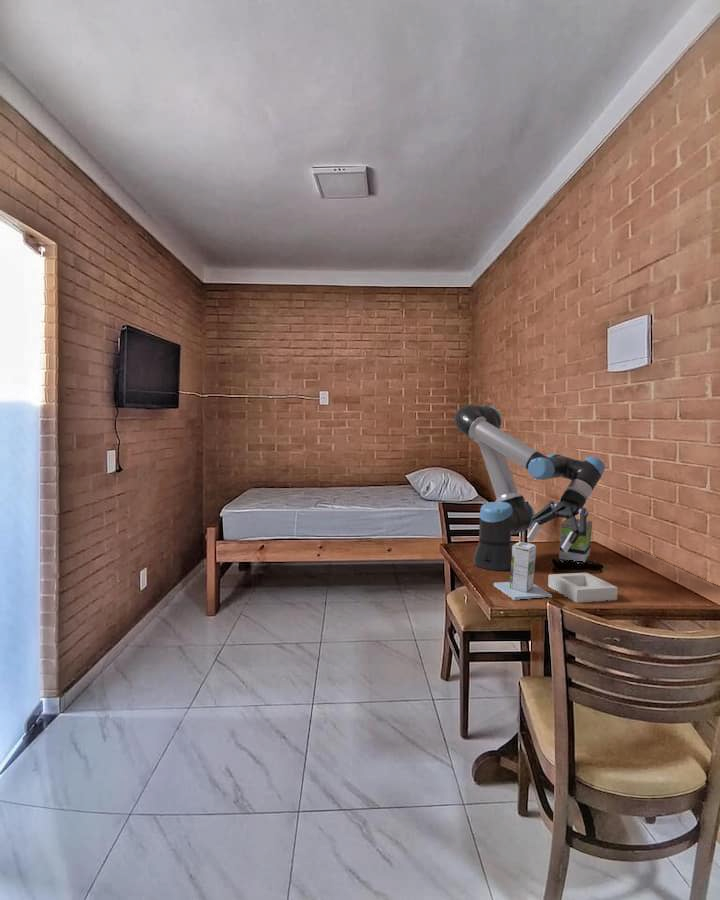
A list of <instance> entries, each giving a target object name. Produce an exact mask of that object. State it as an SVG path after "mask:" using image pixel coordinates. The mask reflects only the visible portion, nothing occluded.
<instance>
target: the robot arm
mask: <svg viewBox="0 0 720 900" xmlns="http://www.w3.org/2000/svg"><path fill="white" fill-rule="evenodd" d="M454 424H455V427H456V428H457V429H458V430H459V432H460V433H462V434H464V435H466V436H467V437H469V438H470V439H472V441H473V442H475V443H477V444H478V445H479V448H480V452H481V455H482V459H483V461H484V465H485V467H486V471H487V474H488V476H489V480H490V482H491V486H492V488H493V491H494V495H495V498H496V499H495V501H491V502H490V501H489V502H485V503H484V504H482V505H481V507H480V512H479V531H478V532H479V533H478V534H479V535H478V536H479V538H478V544H477V547H476V550H475V552H474V555H473V561H472V562H473V564H474V566H477V567H479V568H482V569H485V570H491V571H511V561H512V546H511V541H512V535H515V534H519V533H523V532H525V531H527V530H529V532H528V534H527V536H526V538H527V539H528V541H529V543H533V541H534V540H535V538H536V536H537V534H539V532H540V531H541V528H542V525H544V524H546V523H548V522H550V521H552V520H554V519H558V518H561V519H565V520H566V519H570V521H571V524H572V528H573V531H574V533H573V532H570V533H569V535H568V537H567V538H566V540H565V542H564V543H563V545H562V547H561V548H562V549H563V551H564V552H566V553H567V551H568V550H569V548H570V546H571V545H572V544H574V543H575V542H576V540H577V538H578V537H579V536H584V537H585V536H586V520H587V518H588V516H589V511H588V510H587V509H586V507H584V506H585V504H586V503H587V500H588V499H589V498H590V496H591V495H592V494H591V493H592V492H593V491H594V489H595V487H596V486H597V484H598V483H599V481H600V479H602V476H603V474H604V472H605V470H606V465H605V463H604V462H603V461H602V460H601V459H600V458H597V457H596V456H586V457H584V459H583V460H578V459H575V458H571V457H567V456H563V455H562V454H555V453H549V454H548V455H547V456H546V455H545V454H544V453H541V452H539V451H538V450H536V449H534V448H533V447H531V446H529V445H528V444H526V443H524V442H523V441H521V440H519V439H517V438H516V437H514V436H512V435H510V433H509V434H508V433H507V432H505V431H504V430H502V429H501V425H502V416H501V413H500V412H499V410H498V409H496V408H495V407H493V406H490V405H486V404H484V405H476V404H466V405H465V404H464V405H463V406H461V407H460V408H459V409H458V410H457V411H456V413H455V414H454ZM507 458H508V459H509V460H510V461H513V462H514V463H515V464H517V465H519V466H521V467H522V468H524V469H525V470H527V471H528V474H529V475H530V476H531V477H532V478H533V479H535V480H542V481H543V480H549V479H556V478H563V479H568V480H570V482H569V483H568V486H567V487H566V489H565V491H564V492H563V493H562V495H561V497H560V501H559V502H558V503H555V501H553V500H551V501H549V503H548V504H547V505H545V506H544V507H543V508H542V509H541V510H539V511H538V512H536V513H535V511H534V509H533V507H532V505H531V504H529V503H528V502H526V500H525V498H524V495H523V494H521V493H520V492H518V490H517V485H516V484H515V481H514V477H513V474H512V472H511V469H510V466H509V463H508V460H507ZM577 515H579V519H580V530H579V529H578V525H577V522H576V519H577V517H576V516H577Z"/></svg>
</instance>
